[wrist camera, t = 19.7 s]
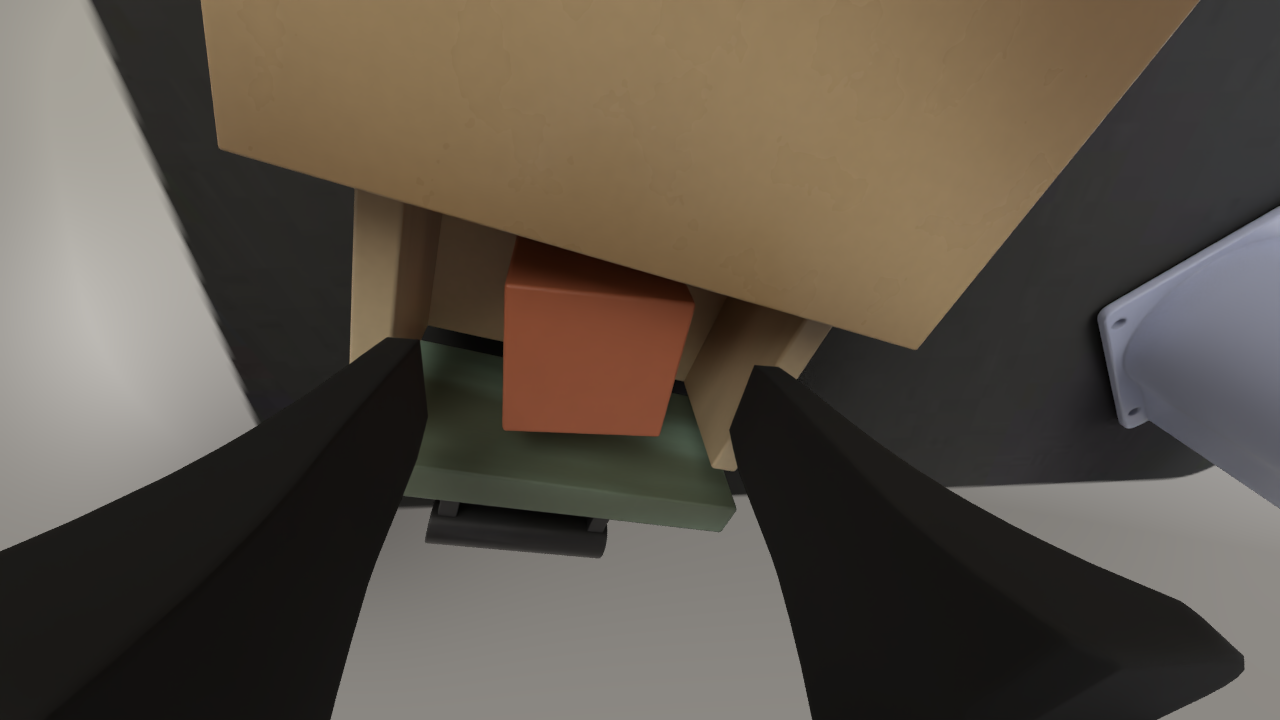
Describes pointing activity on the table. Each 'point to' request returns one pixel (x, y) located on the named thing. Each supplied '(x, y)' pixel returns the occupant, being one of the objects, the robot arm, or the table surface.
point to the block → (588, 343)
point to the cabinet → (699, 127)
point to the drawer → (543, 461)
